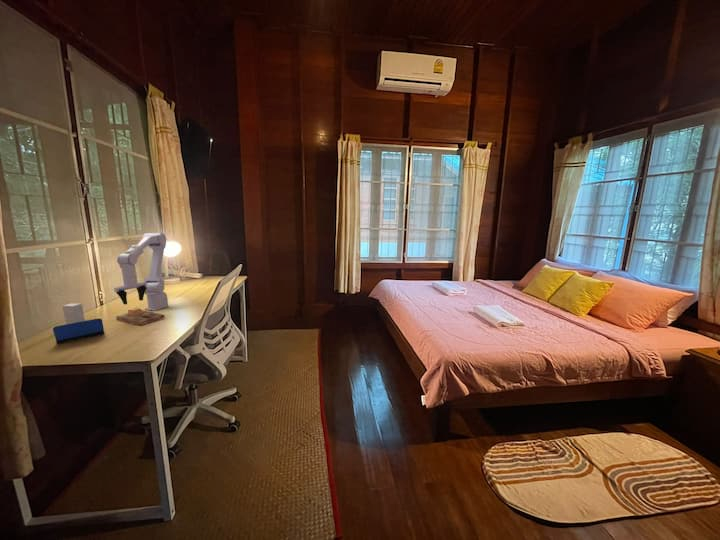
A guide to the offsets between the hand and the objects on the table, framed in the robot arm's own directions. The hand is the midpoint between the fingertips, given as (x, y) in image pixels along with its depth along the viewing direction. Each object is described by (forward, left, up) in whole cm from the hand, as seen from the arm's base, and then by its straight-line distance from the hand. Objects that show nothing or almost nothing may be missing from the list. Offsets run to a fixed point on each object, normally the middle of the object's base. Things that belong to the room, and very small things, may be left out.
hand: (133, 302), depth 159 cm
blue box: (+26, +6, -9) cm, 28 cm away
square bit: (0, 0, -9) cm, 9 cm away
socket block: (0, +5, -9) cm, 10 cm away
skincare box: (+21, -9, -9) cm, 25 cm away
